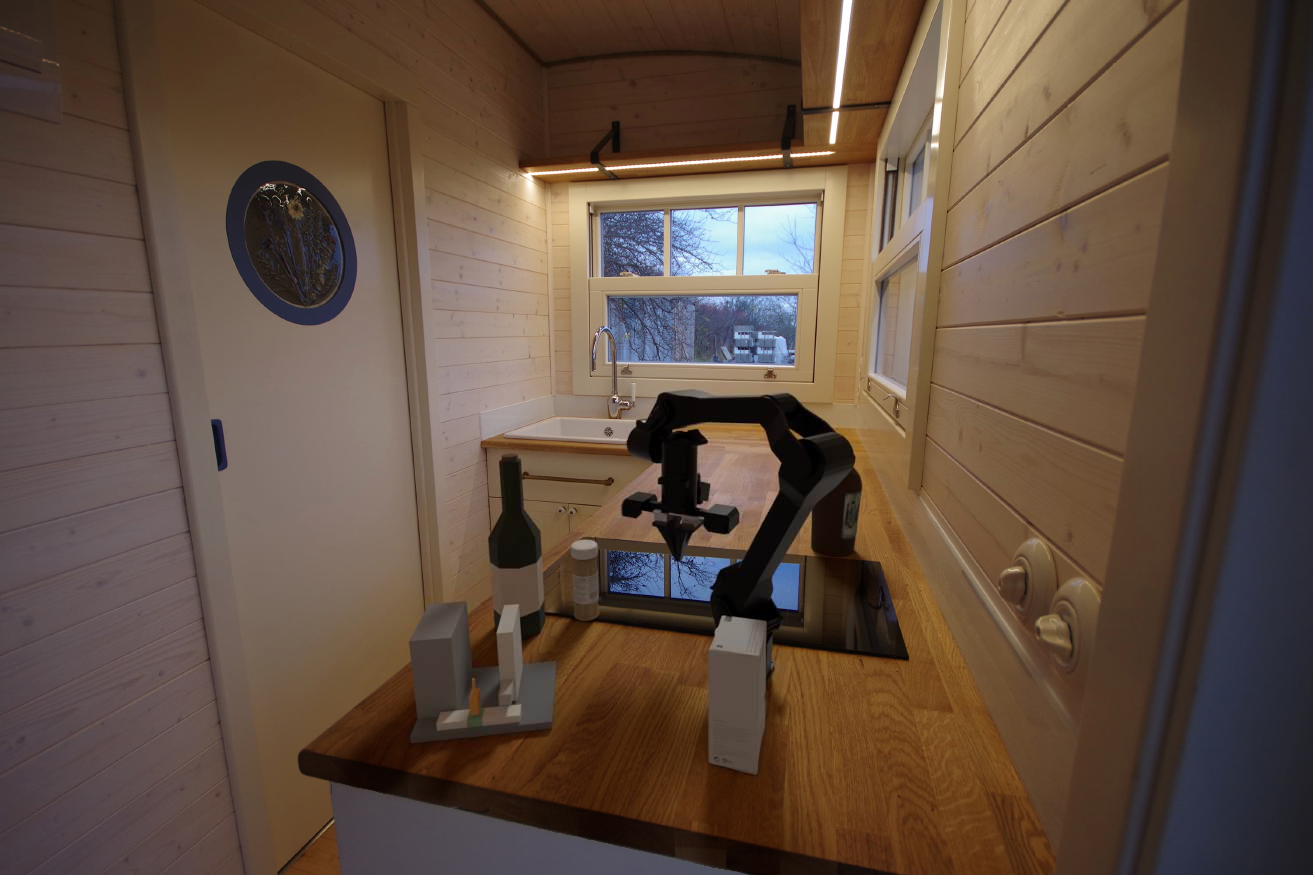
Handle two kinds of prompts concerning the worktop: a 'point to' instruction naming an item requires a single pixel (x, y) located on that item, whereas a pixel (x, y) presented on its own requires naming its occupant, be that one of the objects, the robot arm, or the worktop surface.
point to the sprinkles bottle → (585, 579)
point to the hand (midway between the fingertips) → (678, 560)
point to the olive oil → (837, 518)
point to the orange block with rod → (474, 699)
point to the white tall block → (509, 654)
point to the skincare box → (737, 693)
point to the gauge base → (469, 683)
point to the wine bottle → (516, 554)
